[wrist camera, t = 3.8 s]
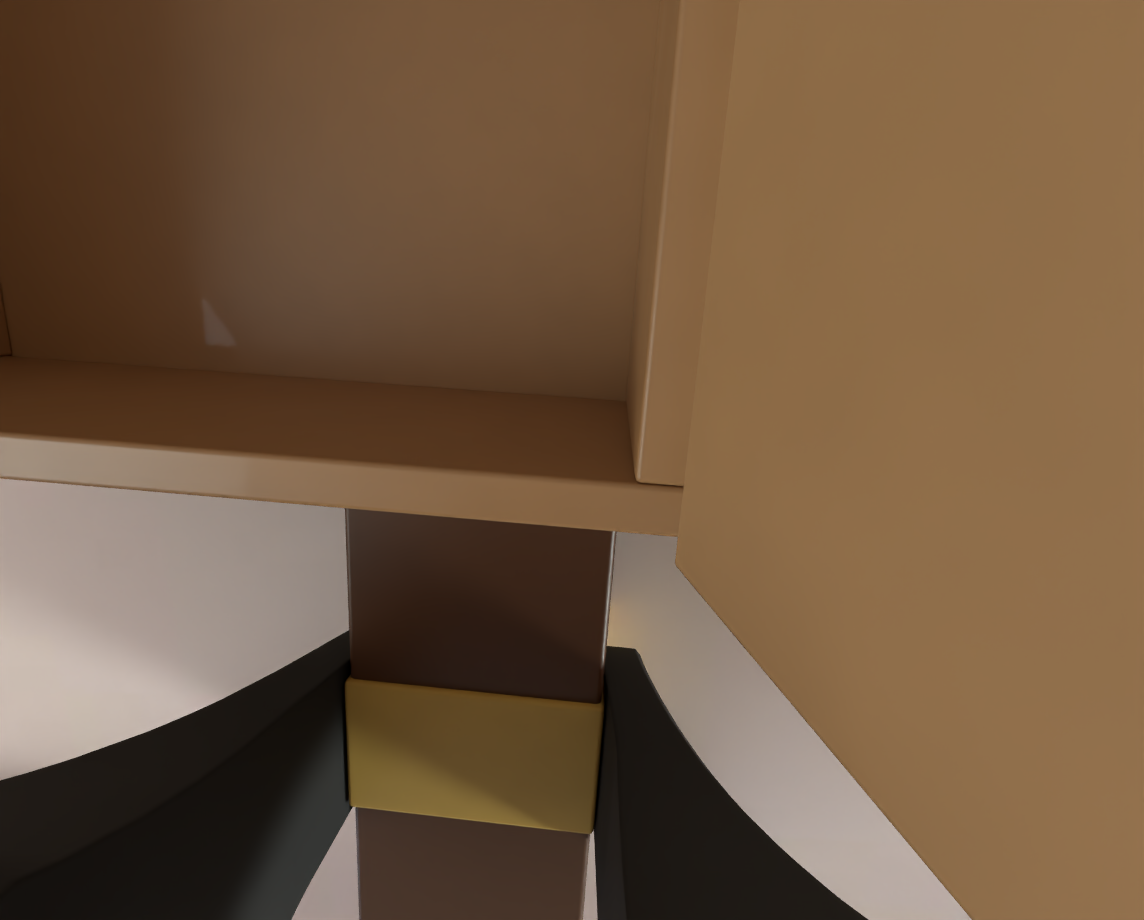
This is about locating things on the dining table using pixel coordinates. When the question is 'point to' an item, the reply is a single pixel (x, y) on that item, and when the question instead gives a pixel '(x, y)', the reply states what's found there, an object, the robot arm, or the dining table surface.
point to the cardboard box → (361, 250)
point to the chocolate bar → (474, 713)
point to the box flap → (940, 423)
